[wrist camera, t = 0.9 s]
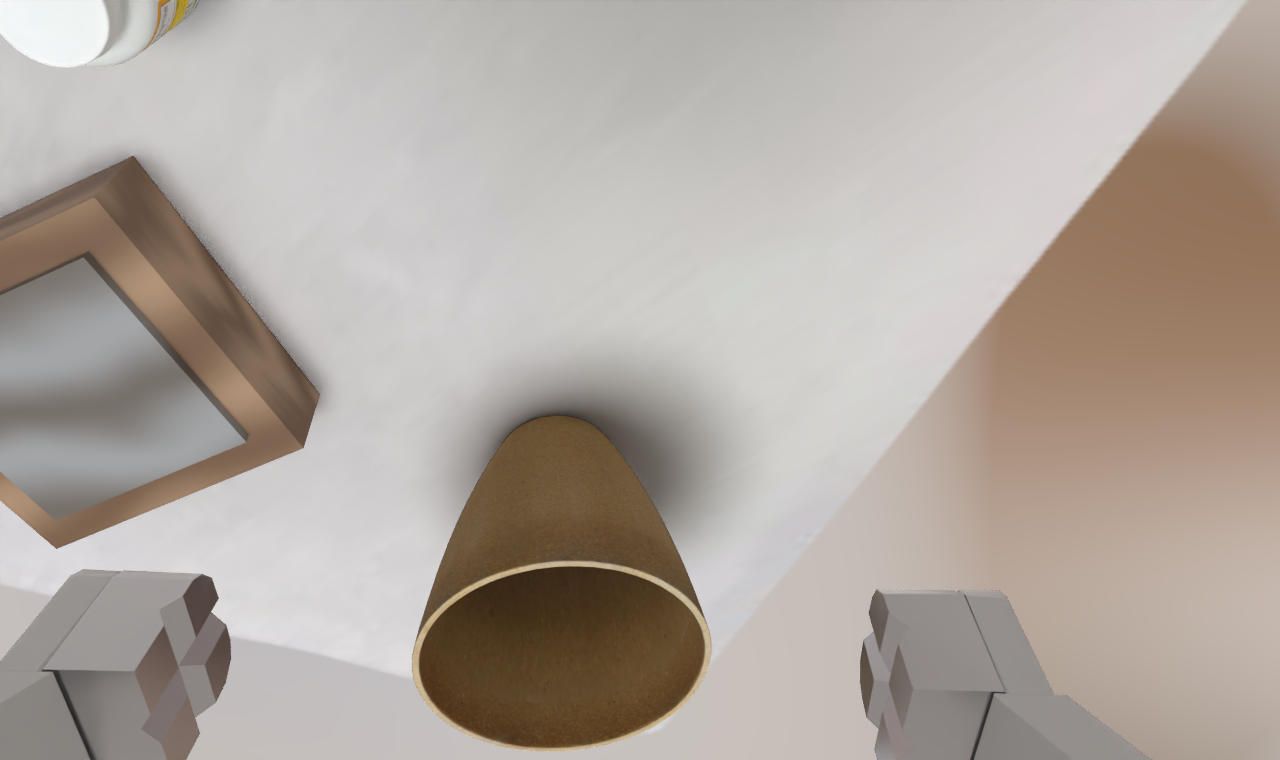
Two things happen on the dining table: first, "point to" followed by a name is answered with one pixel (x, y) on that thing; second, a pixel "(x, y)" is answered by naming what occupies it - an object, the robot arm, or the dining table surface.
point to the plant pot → (559, 601)
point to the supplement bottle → (88, 28)
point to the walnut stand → (128, 361)
